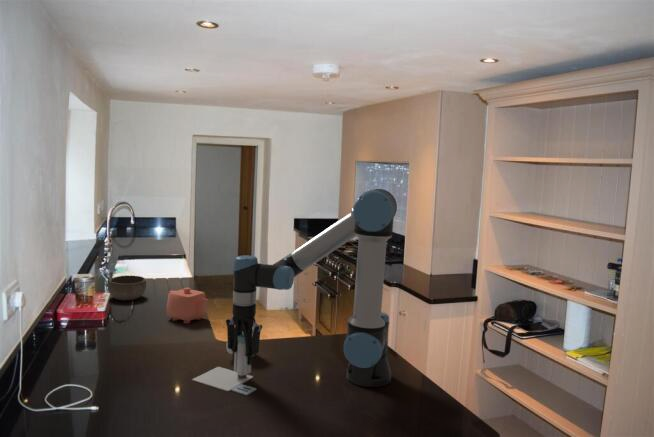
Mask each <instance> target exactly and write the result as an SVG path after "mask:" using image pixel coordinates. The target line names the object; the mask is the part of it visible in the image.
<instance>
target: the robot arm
mask: <svg viewBox="0 0 654 437" xmlns="http://www.w3.org/2000/svg"><path fill="white" fill-rule="evenodd" d="M397 210H398V203H397V200H396V198H395V196H394V195H393V194H392V193H391V192H389V191H388V190H386V189H382V188H375V189H370V190H367V191H365V192H363V193H362V194H360V195H359V196H358V197H357V199H356V201H355V202H354V204H353V206H352V207H351V211H350V212H349V213H347V214H346V215H344V216H343V217H342V218H340V219H339V220H337V221H336V222H334V223H333V224H331V225H330V226H329V227H327V228H325V229H324V230H322V231H321V232H320V233H318V234H317V235H315V236H313V237H312V238H310V239H309V240H308V241H306V242H305V243H303V244H302V245H301V246H299V247H297V248H296V249H295V250H293V251H292V252H290V253H289V254H287V255H286V256H284V257H282V258H281V259H279V260H278V261H276V262H275V263H273V264H265V263H259V261H258V258H257V256H256V255H255V256H254V255H245V254H244V255H238V256H236V257H235V258H234V262H233V264H234V265H233V271H232V272H233V285H232V286H233V288H232V290H233V291H232V303H233V304H232V315H233V316H232V317H230V318H227V319H225V323H226V327H227V328H226V329H227V330H226V333H227V340H228V348H229V349H231V350H232V351H233V354H232V361H233V371H234V372H237V350H238V342H237V339H238V335H240V334H242V332H243V334H244V336H245V344H246V352H247V354H246V355H245V358H244V375H250V373H252V364H253V363H254V356H255V355H257V354H258V353H259V351H260V341H261V331H262V329H263V325H262V324H258V323H257V322H256V318H255V317H256V313H257V312H256V310H257V304H256V302H257V288H264V289H273V290H278V291H282V290H283V291H284V290H285V291H287V290H291V288H293V285H294V281H295V278H296V277H297V276H298V275H300V274H301V273H303V272H304V271H306V270H307V269H308V268H310V267H312V266H314V264H316V263H317V262H319V261H320V260H322V259H324V258H325V257H327V256H328V255H330V254H331V253H333V252H335V251H336V250H338V249H339V248H340V247H342V246H343V245H345V244H346V243H348V242H349V241H351V240H353V239H354V238H357V239H358V244H357V256H356V268H355V270H356V272H355V283H354V284H355V286H354V298H353V310H352V311H353V314H352V315H351V316H350V317H348V319H347V328H346V338H345V340H344V342H343V354H344V357H345V358H346V360H347V361H348V362H349V363H348V366H347V368H346V375H345V376H346V379H347V381H348V382H350V383H352V384H354V385H356V386H360V387H365V388H379V387H384V386H386V385H389V383H391V381H392V371H391V368H390V365H389V360H388V346H389V345H388V344H389V342H388V341H389V327H390V326H389V325H390V316H389V315H388V314H387V313H385V312H383V311H382V304H383V296H384V295H383V294H384V293H383V292H384V282H385V268H386V267H385V266H386V255H387V254H386V253H387V242H388V241H389V240H390V239H391V238H392V237H393V229H394V218H395V216H396V214H397ZM252 327H254V328H253V330H254V331H253V330H252ZM252 333H253V338H252ZM253 355H254V356H253Z"/></svg>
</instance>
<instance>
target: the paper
mask: <svg viewBox="0 0 654 437" xmlns="http://www.w3.org/2000/svg"><path fill="white" fill-rule="evenodd" d="M253 378H254V376H253V375H250V374H247V377H246V378H239V377H238V375H237V372H234V370H231V369H229V368H224V367H221V366H216V367H215V368H212V369H210V370H208V371H207V372H204V373H202V374H201V375H198V376H195V377H193V378H192V379H191V381H193V382H196V383H198V384H202V385H206V386H209V387H212V388H216V389H218V390H222V391H224V392H230V391H231V390H232V389H233V388H235V387H237V386H239V385H240V384H244V383H246V382H248V381H250V380H251V379H253Z"/></svg>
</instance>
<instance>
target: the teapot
mask: <svg viewBox="0 0 654 437" xmlns="http://www.w3.org/2000/svg"><path fill="white" fill-rule="evenodd" d="M167 294H168V296H167V303H166V316H168V317H170V318H172V319H171V320H172V321H175V322H176V321H179V320H182V321H183V324H188V325H189V324H190V323H191V321H194V320H196V321H197V320H202V317H205V316H206V314H207V303H208V301H209V299H208V298H206V293H205V291H204V292H203V291H200V290H195V289H191V287H184V288H181V289H178V290H169V291H168V293H167Z"/></svg>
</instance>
